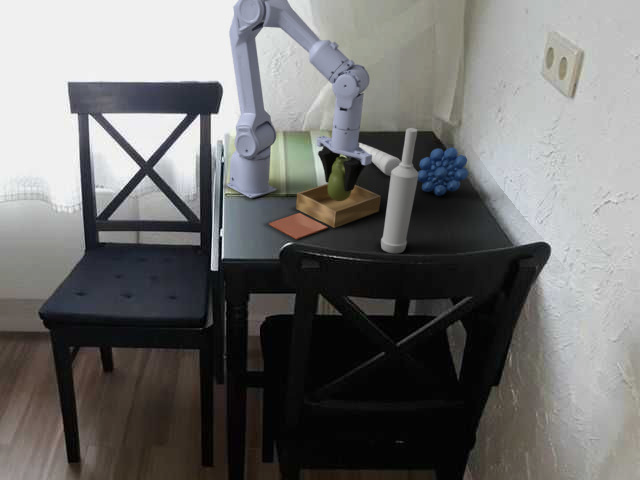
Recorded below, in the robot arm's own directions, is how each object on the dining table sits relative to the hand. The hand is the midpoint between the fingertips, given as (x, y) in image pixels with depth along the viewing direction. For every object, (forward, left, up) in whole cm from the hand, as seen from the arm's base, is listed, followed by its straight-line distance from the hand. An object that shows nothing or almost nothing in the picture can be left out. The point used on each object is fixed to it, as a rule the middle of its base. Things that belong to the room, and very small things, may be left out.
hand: (339, 185), depth 167 cm
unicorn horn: (-16, +29, -6) cm, 34 cm away
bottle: (+20, -4, -6) cm, 21 cm away
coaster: (+1, -13, -6) cm, 14 cm away
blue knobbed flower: (+8, +26, -6) cm, 28 cm away
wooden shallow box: (0, 0, -6) cm, 6 cm away
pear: (0, 0, -4) cm, 4 cm away
